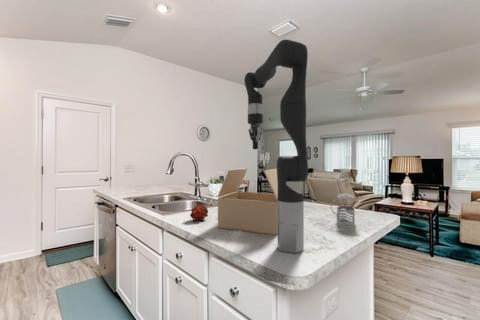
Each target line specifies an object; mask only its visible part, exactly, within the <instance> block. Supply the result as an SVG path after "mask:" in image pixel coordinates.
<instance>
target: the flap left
mask: <svg viewBox="0 0 480 320" xmlns="http://www.w3.org/2000/svg"><path fill="white" fill-rule="evenodd" d="M248 169H249V168H248V167H243V168H241V167H240V168H233V169H232V168H231V169H228V170H227V173H226V175H225V178H224V181H223V183H222V185H221V187H220V190H219V192H218V194H217V198H220V197H223V196H226V195H229V194H232V193H236V192H239V189H240V187H241V185H242V183H243V180H244V178H245V175H246V173H247V171H248Z"/></svg>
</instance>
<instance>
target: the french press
mask: <svg viewBox="0 0 480 320" xmlns="http://www.w3.org/2000/svg"><path fill="white" fill-rule="evenodd" d="M348 175H349V174H348V173H344V174H343V177H345V181H344V183H345V185H344V186H345V188H344V189H345V191H344V192H345V193H340V194H338V195H337V196H336V198H337V199H336V198H335V199H333V200H332V201H331V204H330V208H331V209H330V210H331V212H332V213H333V214H334V215H336V222H335V223H334V225H335V226H336V227H338V228H343V229H344V228H345V229H355V228H357V227H358V226H357V224H356V223H355V215H356V214H355V205H353V204H349V203H347V200H354V199H355V196H354V195H352V194H349V193H347V191H346V190H347V177H348ZM338 199H343V200H345V203H338V202H339V201H338ZM335 201H336V203H338V204H337V208H336V210H337V211H336V212H337V213H336V212H335V211H334V210H333V208H332V205H333V203H334V202H335Z"/></svg>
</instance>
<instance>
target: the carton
mask: <svg viewBox="0 0 480 320" xmlns="http://www.w3.org/2000/svg"><path fill="white" fill-rule="evenodd" d="M277 208H278V201H277V200H276V198H275V195H274V193H273V192H272V193H270V192H249V191H236V192H233V193H230V194H227V195H224V196H221V197H217V229H221V230H229V231H237V232H238V231H239V232H246V233H252V234H253V233H254V234H261V235H268V234H269V235H270V236H276V235H277V236H278V210H277Z"/></svg>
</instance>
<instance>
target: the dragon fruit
mask: <svg viewBox="0 0 480 320" xmlns="http://www.w3.org/2000/svg"><path fill="white" fill-rule="evenodd" d="M190 211H191V212H190V213H189V214H190V215H189V216H190V218H191V219H192V221H193V222H198V221H199V220H200V221H201V222H203V220H205V218H206V217H207V218H208V216H209V214H208V213H209V211H208V208H207V207H206V205H203V206H202V205H201V204H198V206H197V205H195V206H194V208H192V209H191V210H190Z"/></svg>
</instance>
